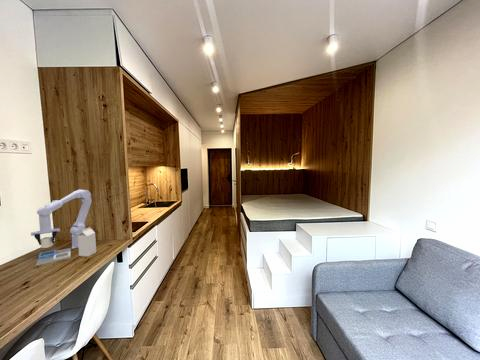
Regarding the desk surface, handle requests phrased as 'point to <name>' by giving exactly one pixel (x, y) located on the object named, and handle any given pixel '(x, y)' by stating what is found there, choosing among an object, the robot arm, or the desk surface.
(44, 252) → the blue bezel
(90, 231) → the milk carton
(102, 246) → the desk surface
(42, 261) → the duct panel
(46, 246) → the plug
